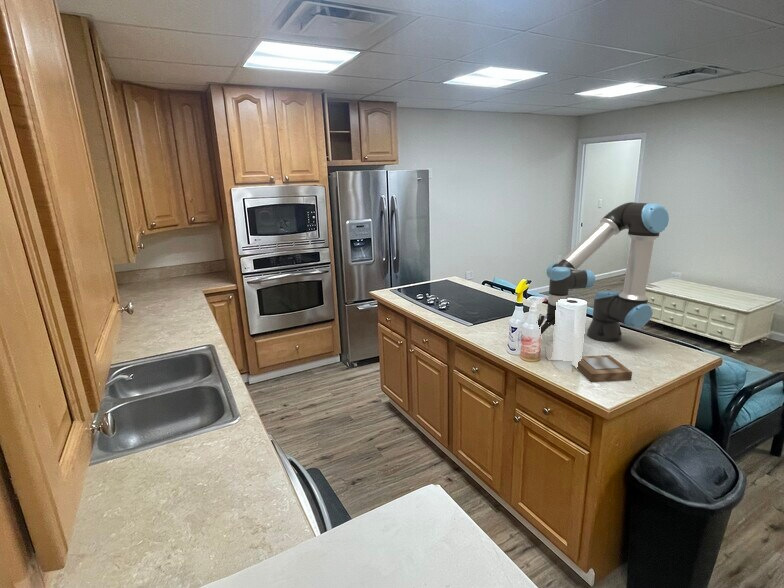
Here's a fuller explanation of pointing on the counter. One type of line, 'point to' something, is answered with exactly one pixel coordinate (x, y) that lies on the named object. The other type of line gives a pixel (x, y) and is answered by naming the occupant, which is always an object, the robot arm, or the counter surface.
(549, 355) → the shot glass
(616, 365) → the walnut base
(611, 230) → the robot arm
